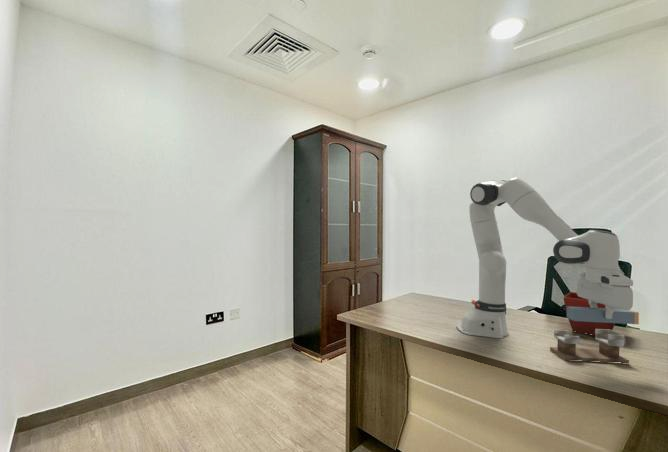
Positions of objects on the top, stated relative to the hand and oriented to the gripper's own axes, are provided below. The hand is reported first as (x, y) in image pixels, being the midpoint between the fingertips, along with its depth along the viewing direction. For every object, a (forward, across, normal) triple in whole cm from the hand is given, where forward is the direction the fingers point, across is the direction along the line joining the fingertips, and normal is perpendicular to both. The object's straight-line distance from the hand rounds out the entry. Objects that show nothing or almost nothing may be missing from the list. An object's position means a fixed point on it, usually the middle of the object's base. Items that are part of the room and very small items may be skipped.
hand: (601, 315), depth 102 cm
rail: (+2, 0, 0) cm, 2 cm away
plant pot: (+19, -42, +26) cm, 53 cm away
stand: (+19, -10, +3) cm, 22 cm away
